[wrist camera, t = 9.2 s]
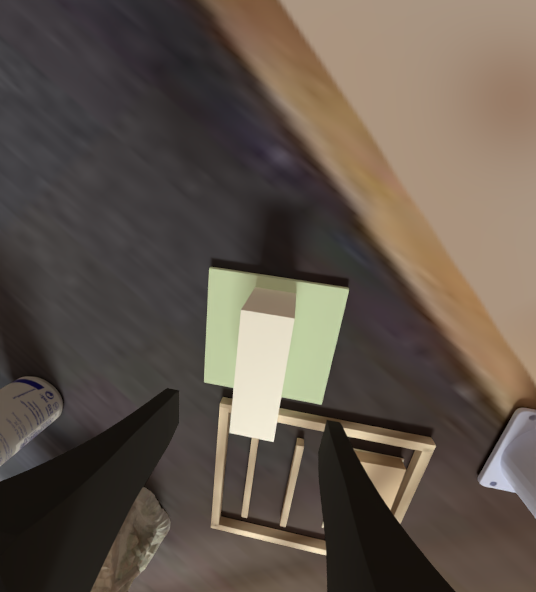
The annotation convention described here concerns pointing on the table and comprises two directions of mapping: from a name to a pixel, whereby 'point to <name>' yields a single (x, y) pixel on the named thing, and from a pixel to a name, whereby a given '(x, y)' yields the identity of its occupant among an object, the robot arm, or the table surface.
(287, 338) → the tall cream block
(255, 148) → the table surface
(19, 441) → the energy drink
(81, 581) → the robot arm
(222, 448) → the rack
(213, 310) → the mat
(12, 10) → the table surface
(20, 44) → the table surface
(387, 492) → the offcut upper
